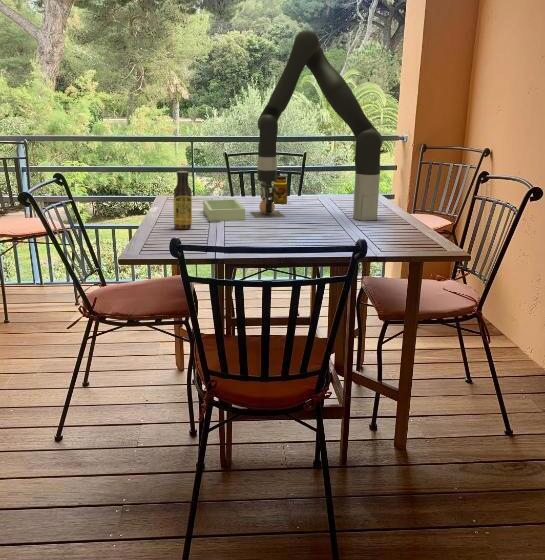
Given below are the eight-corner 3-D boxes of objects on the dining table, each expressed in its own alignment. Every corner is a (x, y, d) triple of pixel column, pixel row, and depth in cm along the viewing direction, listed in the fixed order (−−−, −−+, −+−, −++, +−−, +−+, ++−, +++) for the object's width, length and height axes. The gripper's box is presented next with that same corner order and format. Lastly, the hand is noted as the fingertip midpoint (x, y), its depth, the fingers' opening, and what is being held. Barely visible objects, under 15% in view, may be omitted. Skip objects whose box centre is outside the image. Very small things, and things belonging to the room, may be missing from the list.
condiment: (276, 205, 248) (277, 177, 245) (267, 202, 255) (267, 175, 252) (291, 204, 252) (292, 176, 248) (282, 201, 259) (282, 174, 255)
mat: (285, 217, 224) (285, 216, 223) (254, 218, 221) (254, 217, 221) (278, 211, 235) (278, 210, 235) (249, 212, 232) (249, 211, 232)
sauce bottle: (175, 230, 201) (172, 172, 195) (173, 226, 207) (170, 170, 201) (193, 229, 203) (191, 172, 197) (191, 225, 209) (189, 170, 203)
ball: (276, 215, 226) (276, 200, 224) (261, 216, 224) (261, 200, 222) (272, 212, 231) (272, 197, 229) (258, 213, 230) (258, 198, 228)
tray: (245, 220, 217) (245, 209, 216) (209, 222, 214) (209, 210, 213) (235, 209, 238) (235, 199, 236) (203, 211, 235) (203, 200, 234)
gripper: (281, 170, 216) (280, 214, 222) (272, 166, 230) (272, 207, 235) (261, 170, 215) (261, 215, 220) (254, 166, 228) (254, 208, 233)
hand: (266, 211), depth 227 cm, fingers closed on ball, 6 cm apart
